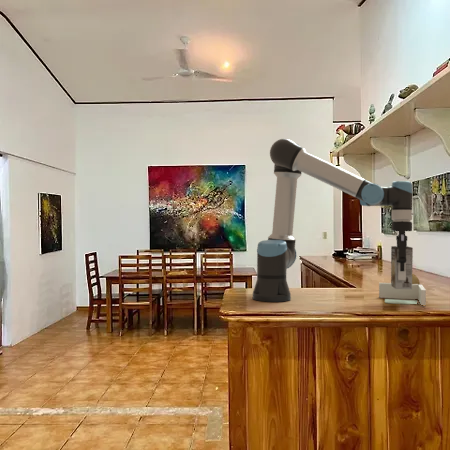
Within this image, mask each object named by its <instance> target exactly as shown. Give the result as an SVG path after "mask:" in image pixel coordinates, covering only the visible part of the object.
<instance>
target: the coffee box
mask: <svg viewBox="0 0 450 450" xmlns="http://www.w3.org/2000/svg"><path fill="white" fill-rule="evenodd" d="M390 247H391V249H390V250H391V251H390V260H391V262H390V283H391V286H392V287H394V288H395V289H412V274H413V262H414V260H413V257H414V256H413V253H414V252H413V250H414V249H413V247H411V246H408V245H407V247H406V280H398V263H397V260H399V247H398V246H397V245H394V246H393V245H392V246H390Z"/></svg>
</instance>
